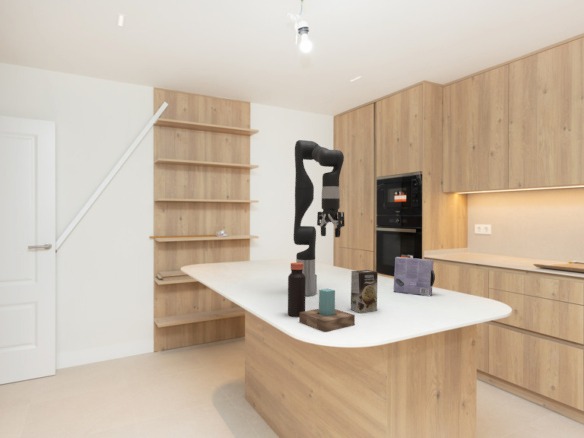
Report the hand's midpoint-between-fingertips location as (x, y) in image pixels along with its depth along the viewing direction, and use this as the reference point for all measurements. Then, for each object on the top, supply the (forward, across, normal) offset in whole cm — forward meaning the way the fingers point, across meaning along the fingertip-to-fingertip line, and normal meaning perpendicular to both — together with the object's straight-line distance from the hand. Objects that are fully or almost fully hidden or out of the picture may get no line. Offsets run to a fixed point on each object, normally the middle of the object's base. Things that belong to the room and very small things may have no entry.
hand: (330, 236), depth 156 cm
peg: (+30, -16, +16) cm, 37 cm away
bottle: (+30, -1, +18) cm, 35 cm away
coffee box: (+30, -11, -9) cm, 33 cm away
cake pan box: (+30, -3, -54) cm, 62 cm away
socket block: (+30, -16, +16) cm, 37 cm away
